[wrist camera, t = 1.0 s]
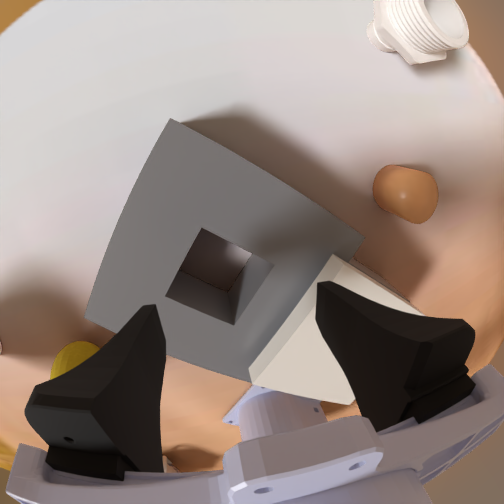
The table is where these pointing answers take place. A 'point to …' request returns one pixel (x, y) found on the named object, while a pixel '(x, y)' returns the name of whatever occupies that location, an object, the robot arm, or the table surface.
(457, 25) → the pipe fitting
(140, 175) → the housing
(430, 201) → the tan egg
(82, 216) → the table surface
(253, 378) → the cream square tile
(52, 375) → the lemon
